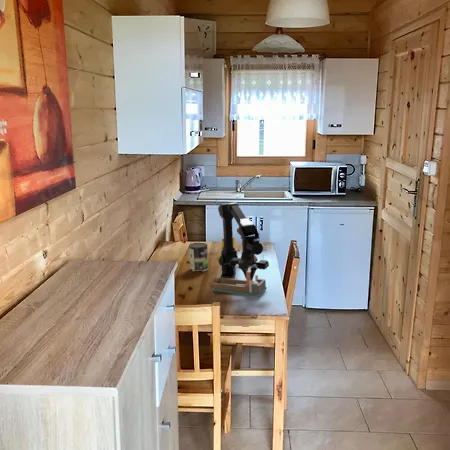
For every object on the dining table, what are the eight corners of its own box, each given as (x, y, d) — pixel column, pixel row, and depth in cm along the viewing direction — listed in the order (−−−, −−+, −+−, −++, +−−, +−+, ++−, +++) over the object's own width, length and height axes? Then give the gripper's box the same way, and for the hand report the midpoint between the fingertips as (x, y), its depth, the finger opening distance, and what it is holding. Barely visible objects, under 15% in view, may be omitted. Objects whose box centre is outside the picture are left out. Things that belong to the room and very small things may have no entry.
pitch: (213, 290, 241) (212, 277, 240) (222, 283, 251) (221, 270, 249) (258, 296, 232) (258, 282, 230) (266, 288, 241) (266, 274, 240)
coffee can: (212, 267, 277) (210, 243, 274) (201, 273, 268) (200, 248, 265) (197, 265, 282) (196, 241, 279) (186, 270, 274) (185, 246, 271)
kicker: (234, 289, 239) (233, 271, 237) (238, 285, 244) (238, 268, 242) (249, 291, 236) (248, 273, 234) (253, 286, 241) (253, 269, 239)
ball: (259, 286, 234) (255, 292, 236) (262, 283, 238) (258, 289, 239) (252, 281, 235) (248, 287, 237) (255, 278, 238) (251, 284, 240)
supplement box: (222, 255, 298) (221, 238, 296) (226, 252, 304) (225, 235, 301) (231, 256, 296) (231, 239, 294) (235, 253, 302) (234, 236, 299)
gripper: (223, 252, 231) (225, 283, 234) (260, 255, 223) (261, 287, 227) (233, 246, 241) (234, 276, 244) (268, 249, 233) (269, 279, 237)
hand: (249, 280), depth 238 cm, fingers closed on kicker, 2 cm apart
